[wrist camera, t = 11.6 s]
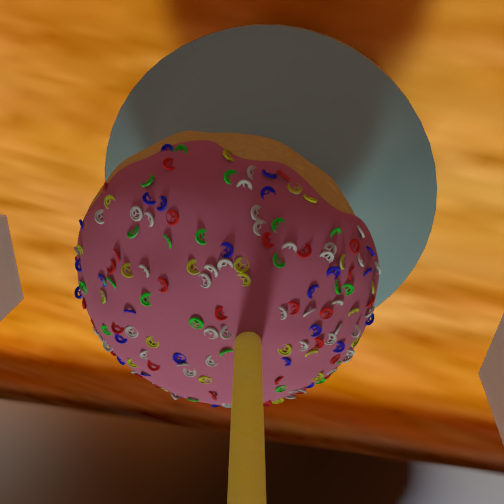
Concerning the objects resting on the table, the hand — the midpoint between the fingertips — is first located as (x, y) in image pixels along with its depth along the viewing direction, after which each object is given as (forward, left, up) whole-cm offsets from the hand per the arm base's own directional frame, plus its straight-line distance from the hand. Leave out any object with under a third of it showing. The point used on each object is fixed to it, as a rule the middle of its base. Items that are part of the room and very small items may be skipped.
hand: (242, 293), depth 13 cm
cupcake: (+1, 0, -6) cm, 6 cm away
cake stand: (0, 0, -14) cm, 14 cm away
